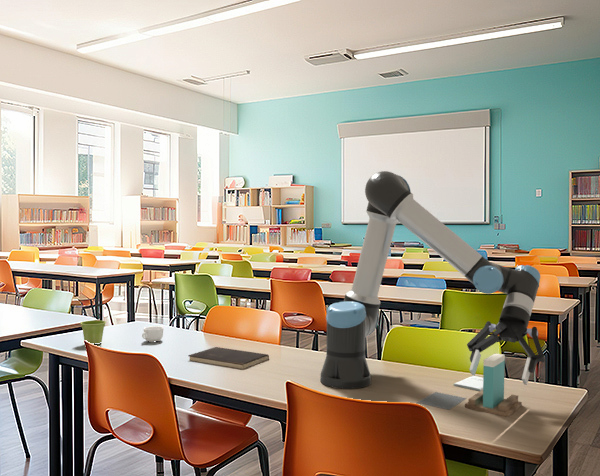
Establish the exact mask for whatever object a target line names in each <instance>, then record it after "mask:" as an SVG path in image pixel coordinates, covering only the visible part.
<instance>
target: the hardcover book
mask: <svg viewBox="0 0 600 476" xmlns="http://www.w3.org/2000/svg"><path fill="white" fill-rule="evenodd" d="M187 356H188V357H189V361H193V362H198V363H204V364H210V365H215V366H223V367H230V368H235V369H241V370H244V369H246V368H249V367H251V366H253V365H256V364H260V363H261V362H264V361H267V360H269V359H270V357H269V356H270V355H269V354H266V353H261V352H254V351H246V350H241V349H233V348H225V347H219V346H214V347H211V348H208V349H204V350H202V351H201V350H200V351H198V352H195V353H192V354H189V355H187Z"/></svg>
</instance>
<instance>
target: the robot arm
mask: <svg viewBox="0 0 600 476" xmlns="http://www.w3.org/2000/svg"><path fill="white" fill-rule="evenodd" d="M365 184H366V185H365V187H364V193H365V197H366V201H368V203H367V207H366V211H365V212H366V213H367V216H368V218H369V219H368V223H367V226H366V230H365V233H364V234H365V235H364V239H363V242H362V247H361V249H360V250H361V251H360V255H359V258H358V261H357V267H356V270H355V275H354V279H353V281H352V285H351V289H350V290H348V291H347V292H345V295H344V298H343V301H339V302H334V303H332V304H330V305H329V306H328V307H327V310H326V315H325V316H326V317H325V319H326V357H325V358H324V359H325V360H324V362H323V365H322V368H321V371H320V377H319V378H320V383H321V384H323V385H325V386H327V387H330V388H336V389H347V390H348V389H352V390H353V389H359V388H361V389H362V388H364V387H368V386H369V385H371V381H372V379H371V378H372V374H371V372H370V369H369V365H368V361H367V359H366V338H367V337H368V336H370V335H371V334H372V333H374V331H375V330H376V329H377V327H378V324H379V317H380V315H379V311H380V306H381V301H380V299H379V296H378V295H379V293H380V288H381V285H382V281H383V276H384V272H385V268H386V264H387V261H388V256H389V253H390V249H391V244H392V241H393V237H394V233H395V229H396V225H397V224H398V223H400V224H401V225H403V226H404V227H405V228H406V229H408V231H410V232H411V233H412V234H413V235H414V236H416V237H417V238H418V239H419V240H420V241H422V242H423V243H424V244H425V245H426V246H428V247H429V248H430V249H431V250H433V252H435V253H436V254H437V255H439V256H440V257H441V258H442V259H443V260H444V261H446V262H447V263H448V264H449V265H450V266H452V268H454V269H455V270H457V272H459V273H460V274H461V275H462V276H464V277H465V278H466V280H468V282H470V283H472V285H473V286H474V287H475V288H476V290H477V291H479V292H481V294H482V293H483V294H487V295H491V294H494V293H496V292H499V293H503V294H506V298H505V300H504V303H503V306H502V309H501V312H500V313H501V314H500V315H499V319H498V323H496V324H495V323H491V321H489V320H488V321H487V322H486V323H485V324H484V327H483V328H481V330H479V332H478V333H477V334H476V335H474V336H473V337H472V338H471V340H470V341H469V342H468V343H467V344H466V346H467V348H468V350H469V352H471V353H470V356H469V361H470V367H469V372H470V375H471V376H476V372H477V369H478V366H479V363H480V360H481V357H482V354H481V353H482V352H484V351H486V350H487V349H488V348H490V347H491V346H493V345H494V344H496V343H499V342H502V341H503V342H511V343H516V342H518V343H519V344H520V346H521V347H522V349H523V350H524V351H525V353H526V354H527V358H526V361H525V364H524V368H523V372H522V375H521V381H522V383H523V385H526V386H528V383H529V378H530V375H531V373H532V374H534V373H535V372H536V367H537V364H538V363H540V362H541V363H545V362H546V358H545V355H544V352H543V348H542V346H541V343H540V340H539V330H538V327H536V326H533V327H532V328H528V327H529V323H530V319H531V315H532V311H533V308H534V304H535V300H536V297H537V294H538V291H539V288H540V280H541V274H540V271H539V270H538V269H537V268H535V267H534V266H532V265H529V264H526V265H524V264H521V265H518V266H516V267H515V269H513V268H509V267H505V266H503V265H500V264H497V263H494V262H491V261H489V260H488V259H487V258H485V257H484V256H483V255H481V253H479V252H478V251H477V250H475V249H474V248H473V247H472V246H471V245H470V244H468V242H466V241H464V240H463V239H462V238H461V237H460V236H459V235H458V234H456V233H455V232H454V231H453V230H452V229H450V228H449V227H448V226H446V224H444V223H443V222H441V220H440V219H438V218H437V217H436V216H434V215H433V214H432V213H431V212H430V211H429V210H427V209H426V208H425V207H424V206H422V205H421V204H420V203H419V202H418V201H417V200H415V198H414V194H413V193H412V191H411V187H410V184H409V183H408V181H407V180H406V179H405V178H404V177H403V176H401V175H398V174H396V173H394V172H392V171H389V170H381V171H378V172H376V173H374V174H372V176H370V177H369V178H368V180H367V182H366V183H365ZM491 333H492V334H491ZM527 335H529V336H530V337H531V338H532V340H533V343H534V346H535V350H536V352H537V354H536V353H534V351H533V350H532V348H531V347H530V345H529V344H528V342H527V341H526V339H525V338H524V337H525V336H527Z"/></svg>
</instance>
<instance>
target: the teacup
mask: <svg viewBox="0 0 600 476" xmlns="http://www.w3.org/2000/svg"><path fill="white" fill-rule="evenodd" d="M141 337H142V339H143V340H145V341H146V342H148V341H149V342H148V343H155V342H154V341H159V342H160V341H161V340H162V339H163V337H164V326H161V325H160V326H158V325H155V326H154V325H151V326H145V327H143V333H142V335H141Z"/></svg>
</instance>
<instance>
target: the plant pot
mask: <svg viewBox="0 0 600 476" xmlns="http://www.w3.org/2000/svg"><path fill="white" fill-rule="evenodd" d="M106 323H107V321H105V320H99V319H96V320H85V321H81V322H80V326H81V328H82V333H83V340H87V341H88V342H90V343H94V344H95V343H100V342H102V341H103V335H104V328H105V325H106Z"/></svg>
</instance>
